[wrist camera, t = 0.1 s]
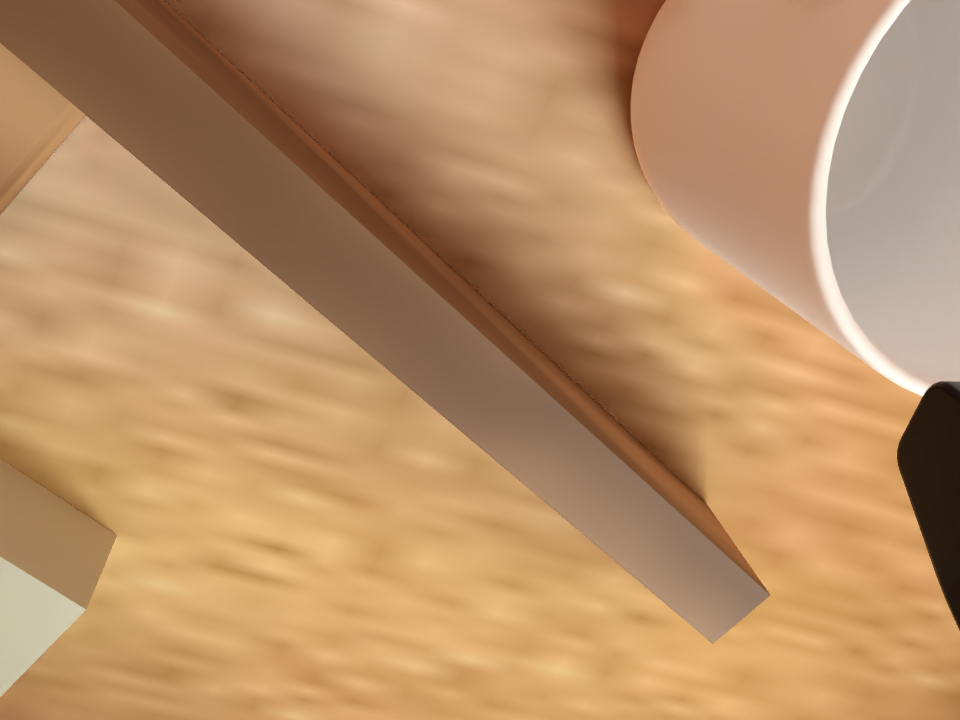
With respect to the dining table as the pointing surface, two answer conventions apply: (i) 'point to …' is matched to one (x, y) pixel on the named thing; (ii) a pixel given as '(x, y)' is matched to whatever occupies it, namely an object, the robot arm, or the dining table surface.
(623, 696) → the dining table surface
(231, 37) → the dining table surface
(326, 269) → the cleat board
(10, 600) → the square base with post
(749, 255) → the mug
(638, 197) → the dining table surface
